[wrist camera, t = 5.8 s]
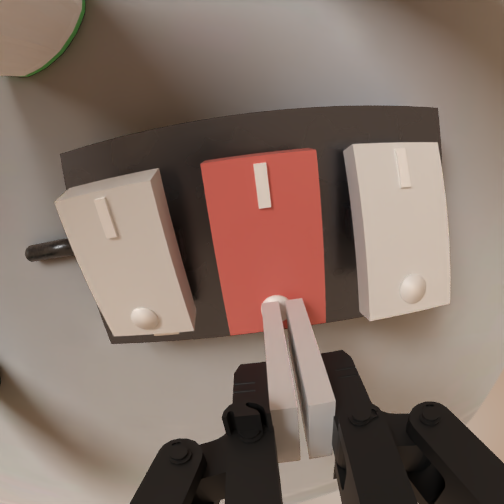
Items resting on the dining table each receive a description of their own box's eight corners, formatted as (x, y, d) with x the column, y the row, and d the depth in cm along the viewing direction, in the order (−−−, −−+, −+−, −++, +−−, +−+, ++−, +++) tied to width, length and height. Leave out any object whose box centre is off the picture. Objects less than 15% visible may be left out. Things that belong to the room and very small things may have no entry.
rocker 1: (69, 188, 13) (52, 203, 12) (158, 167, 13) (149, 181, 12) (120, 316, 17) (113, 338, 16) (196, 309, 17) (194, 332, 16)
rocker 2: (204, 160, 14) (199, 164, 12) (308, 147, 14) (317, 150, 12) (231, 317, 17) (230, 337, 15) (319, 306, 17) (326, 324, 15)
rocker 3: (342, 150, 15) (353, 143, 13) (422, 147, 15) (438, 141, 13) (359, 311, 16) (370, 322, 14) (434, 296, 15) (451, 304, 14)
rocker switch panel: (13, 174, 18) (-27, 185, 14) (409, 111, 18) (448, 106, 13) (55, 321, 22) (28, 352, 18) (412, 280, 22) (442, 309, 17)
